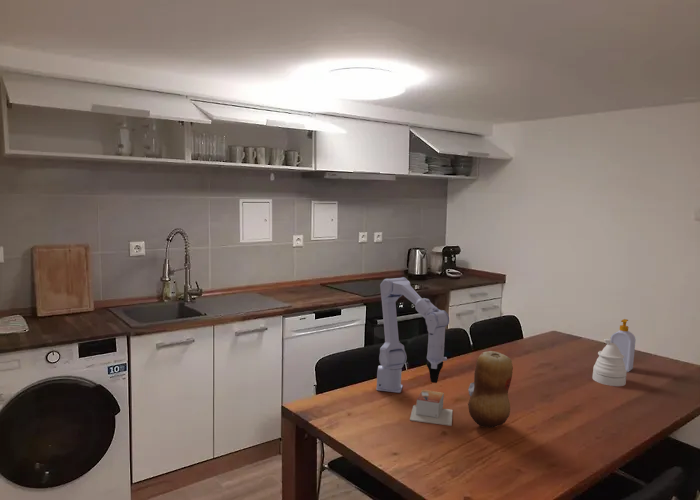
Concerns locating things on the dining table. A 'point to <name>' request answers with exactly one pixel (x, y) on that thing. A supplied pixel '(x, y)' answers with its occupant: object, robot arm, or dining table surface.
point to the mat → (443, 419)
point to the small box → (429, 403)
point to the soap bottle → (625, 344)
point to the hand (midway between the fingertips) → (434, 382)
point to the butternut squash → (491, 389)
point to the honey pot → (610, 366)
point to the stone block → (471, 388)
